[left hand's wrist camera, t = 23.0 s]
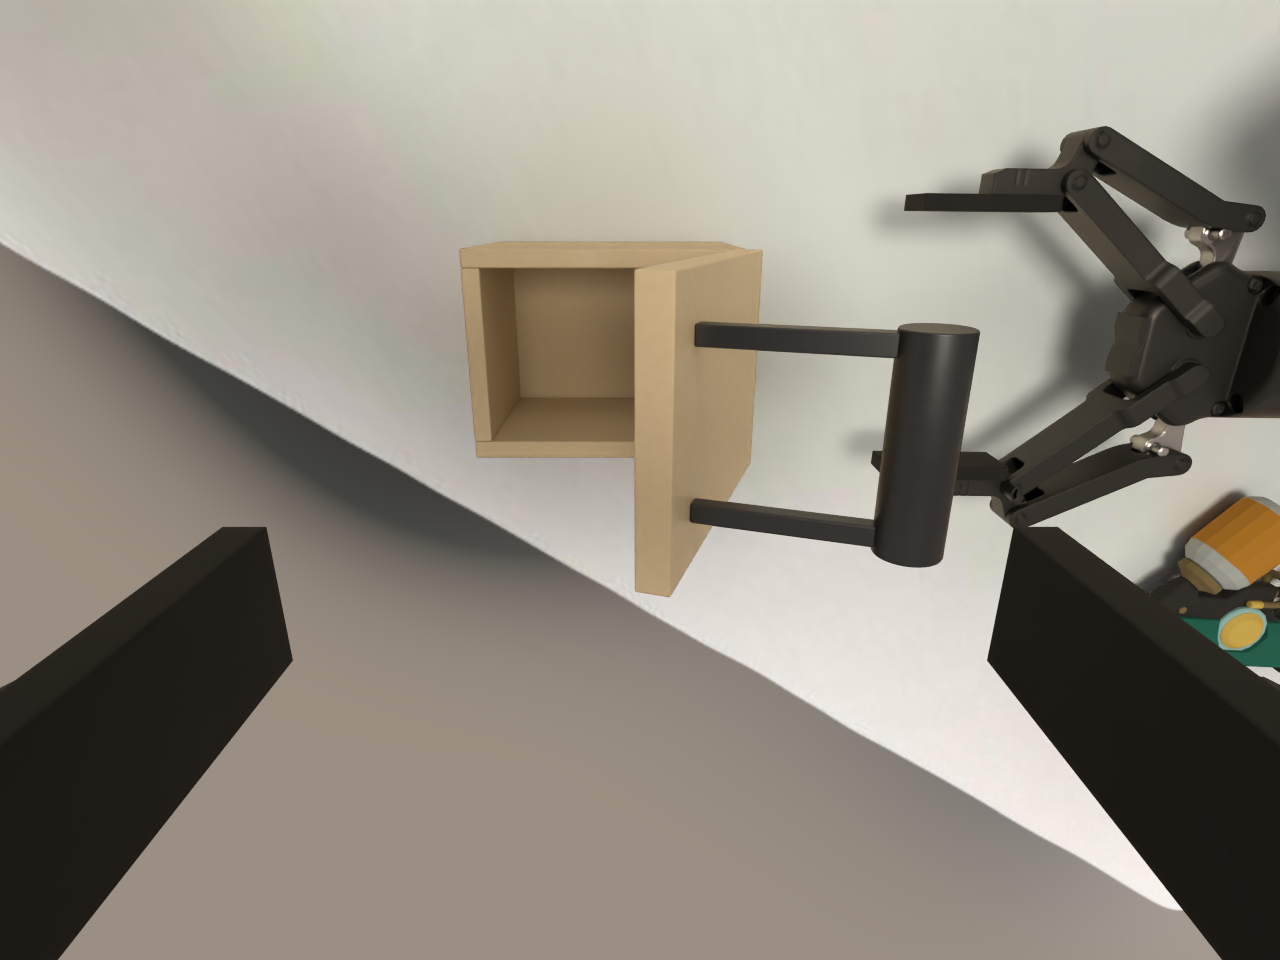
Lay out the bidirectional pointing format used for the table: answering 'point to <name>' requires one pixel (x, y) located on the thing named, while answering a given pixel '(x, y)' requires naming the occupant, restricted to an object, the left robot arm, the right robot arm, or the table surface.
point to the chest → (557, 343)
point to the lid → (723, 418)
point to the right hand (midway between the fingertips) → (894, 341)
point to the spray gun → (1233, 582)
